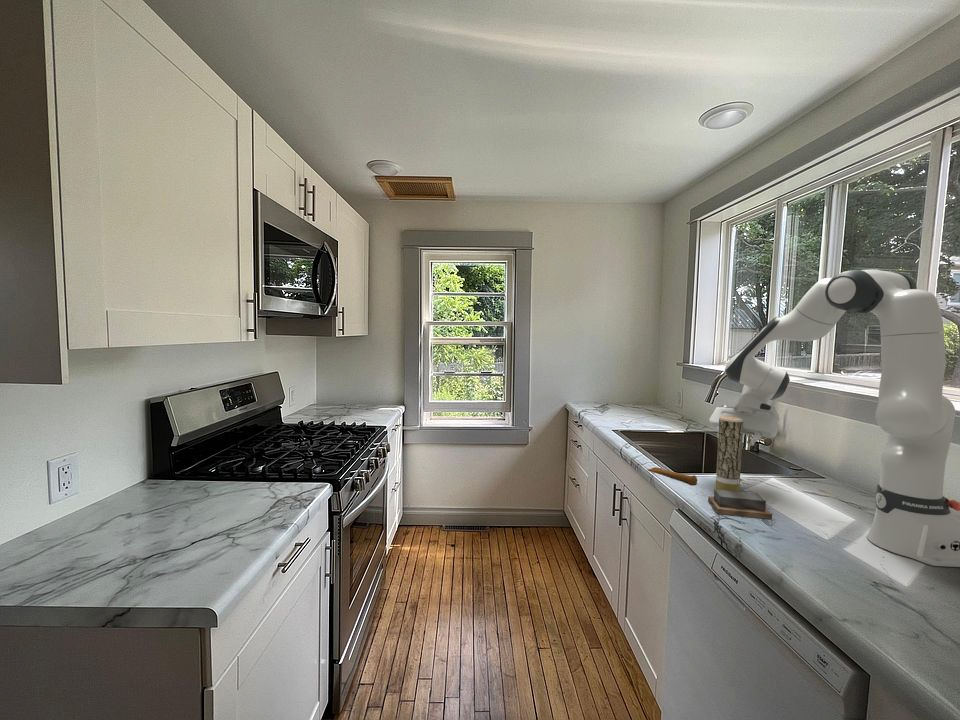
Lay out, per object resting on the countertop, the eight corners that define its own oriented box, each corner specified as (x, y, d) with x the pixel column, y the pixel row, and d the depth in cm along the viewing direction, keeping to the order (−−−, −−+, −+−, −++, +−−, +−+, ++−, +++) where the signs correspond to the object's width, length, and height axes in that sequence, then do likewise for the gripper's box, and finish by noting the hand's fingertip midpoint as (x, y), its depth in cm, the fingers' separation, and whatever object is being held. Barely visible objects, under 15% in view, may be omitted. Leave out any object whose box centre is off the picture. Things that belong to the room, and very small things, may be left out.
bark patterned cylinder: (719, 495, 139) (722, 419, 138) (712, 488, 146) (716, 415, 144) (742, 498, 138) (746, 421, 136) (735, 490, 144) (739, 417, 143)
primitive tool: (646, 471, 165) (646, 462, 165) (655, 469, 168) (656, 460, 168) (691, 487, 148) (692, 477, 148) (701, 484, 151) (702, 474, 151)
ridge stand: (758, 505, 132) (759, 491, 131) (771, 519, 122) (772, 503, 122) (708, 500, 135) (708, 486, 135) (717, 513, 125) (718, 498, 125)
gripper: (715, 399, 155) (700, 429, 150) (780, 407, 138) (766, 442, 133) (720, 410, 158) (705, 440, 152) (785, 420, 141) (771, 454, 136)
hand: (734, 441), depth 143 cm, fingers open, 8 cm apart
